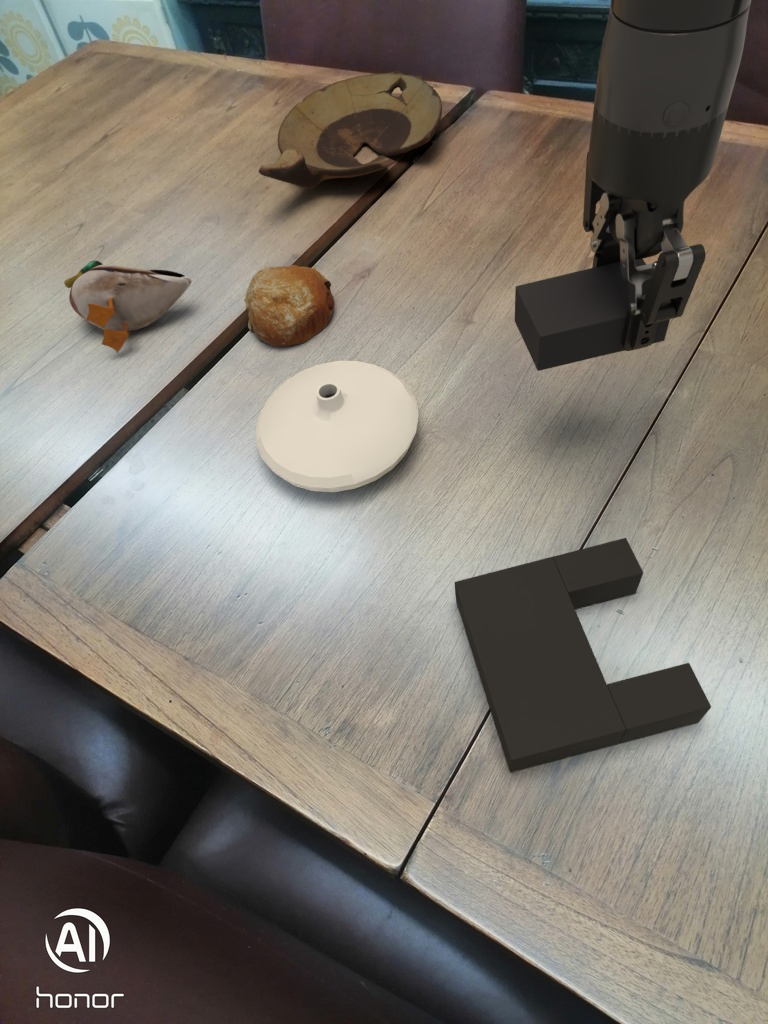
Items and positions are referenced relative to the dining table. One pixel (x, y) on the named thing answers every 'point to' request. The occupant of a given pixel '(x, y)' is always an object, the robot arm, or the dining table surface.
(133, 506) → the dining table surface
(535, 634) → the socket pad
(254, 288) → the bread roll
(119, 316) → the decorative duck model
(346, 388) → the pot lid
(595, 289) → the pad
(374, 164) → the oil lamp
